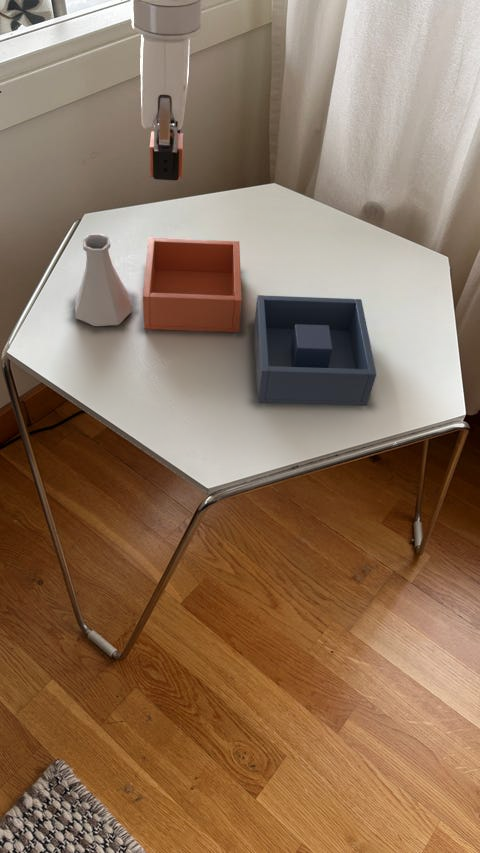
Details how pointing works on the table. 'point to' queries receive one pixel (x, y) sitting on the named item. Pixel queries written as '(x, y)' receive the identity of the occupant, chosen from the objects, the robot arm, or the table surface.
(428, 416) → the table surface
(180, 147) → the terracotta block
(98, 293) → the flask
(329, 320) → the slate bin
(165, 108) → the robot arm
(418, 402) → the table surface
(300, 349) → the slate block
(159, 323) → the terracotta bin
